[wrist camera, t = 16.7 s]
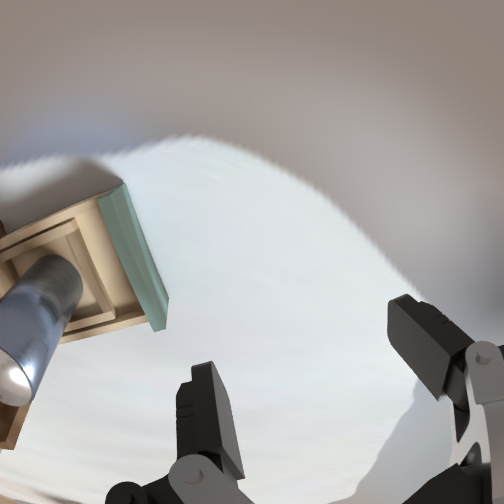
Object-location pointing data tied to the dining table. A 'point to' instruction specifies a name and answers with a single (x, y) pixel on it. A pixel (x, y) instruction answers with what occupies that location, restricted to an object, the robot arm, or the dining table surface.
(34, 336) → the can
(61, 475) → the dining table surface
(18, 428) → the walnut box
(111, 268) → the wooden drawer
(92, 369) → the dining table surface
